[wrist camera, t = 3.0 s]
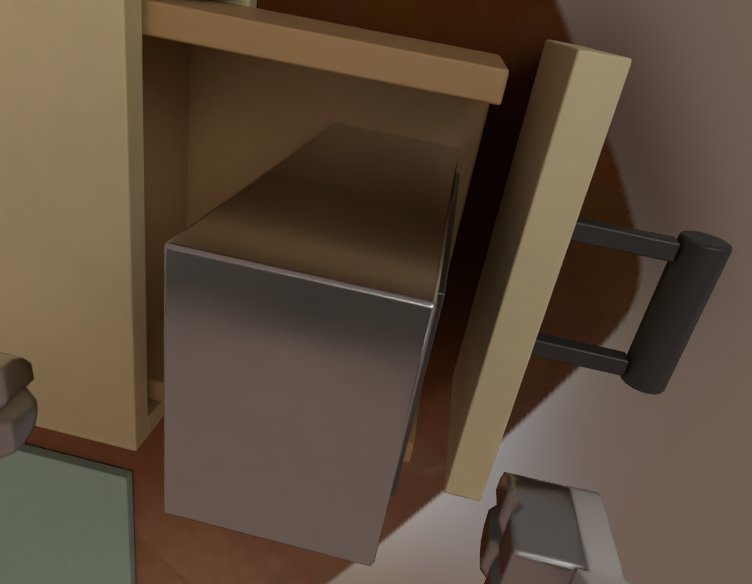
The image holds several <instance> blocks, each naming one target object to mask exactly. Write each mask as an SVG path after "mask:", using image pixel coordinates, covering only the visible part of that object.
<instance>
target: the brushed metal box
mask: <svg viewBox="0 0 752 584" xmlns="http://www.w3.org/2000/svg"><path fill="white" fill-rule="evenodd" d="M459 153H460V149H459V148H458V147H453V146H448V145H443V144H438V143H433V142H429V141H424V140H419V139H414V138H409V137H404V136H399V135H394V134H389V133H385V132H380V131H375V130H370V129H365V128H360V127H355V126H350V125H346V124H341V123H334V124H332V125H331V126H329V127H328V128H327V129H325V130H324V131H322V132H321V133H320V134H318V135H317V136H315V137H314V138H313V139H311V140H310V141H308V142H307V143H306V144H304V145H303V146H301V147H300V148H299V149H297V150H296V151H294V152H293V153H292V154H290V155H289V156H287V157H286V158H285V159H283V160H282V161H280V162H279V163H277V164H276V165H275V166H273V167H272V168H270V169H269V170H268V171H266V172H265V173H263V174H262V175H261V176H259V177H258V178H256V179H255V180H254V181H252V182H251V183H249V184H248V185H247V186H245V187H244V188H242V189H241V190H240V191H238V192H237V193H235V194H234V195H233V196H231V197H230V198H228V199H227V200H226V201H224V202H223V203H221V204H220V205H219V206H217V207H216V208H214V209H213V210H212V211H210V212H209V213H207V214H206V215H205V216H203V217H202V218H200V219H199V220H198V221H196V222H195V223H193V224H192V225H191V226H189V227H188V228H186V229H185V230H183V231H182V232H181V233H179V234H178V235H176V236H175V237H174V238H172V239H171V240H169V241H168V242H167V243H166V244H165V246H164V512H166V513H168V514H171V515H175V516H179V517H183V518H187V519H191V520H194V521H198V522H202V523H206V524H210V525H214V526H218V527H221V528H225V529H229V530H233V531H237V532H241V533H244V534H248V535H252V536H256V537H260V538H264V539H267V540H271V541H275V542H279V543H283V544H287V545H291V546H294V547H298V548H302V549H306V550H310V551H314V552H317V553H321V554H325V555H329V556H333V557H337V558H340V559H344V560H348V561H352V562H356V563H360V564H364V565H367V566H371V565H372V564H373V563H374V561H375V557H376V552H377V548H378V544H379V540H380V536H381V532H382V528H383V524H384V520H385V516H386V512H387V508H388V504H389V500H390V495H393V496H394V495H395V493H396V489H397V485H398V481H399V477H400V473H401V469H402V465H403V461H404V457H405V453H406V449H407V445H408V441H409V437H410V433H411V429H412V425H413V421H414V417H415V413H416V409H417V405H418V401H419V397H420V393H421V389H422V385H423V381H424V377H425V373H426V369H427V365H428V361H429V357H430V352H431V348H432V344H433V340H434V336H435V332H436V328H437V324H438V320H439V316H440V312H441V308H442V304H443V300H444V296H445V290H446V282H447V274H448V266H449V258H450V250H451V242H452V234H453V226H454V218H455V210H456V202H457V194H458V186H459V178H460V174H459V173H457V166H458V159H459Z"/></svg>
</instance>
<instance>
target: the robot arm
mask: <svg viewBox="0 0 752 584" xmlns="http://www.w3.org/2000/svg"><path fill="white" fill-rule="evenodd" d="M33 380H34V375H33V370H32V364H31V362H29V361H27V360H26V359H24V358H22V357H18V356H14V355H10V354H7V353H3V352H0V459H1V458H4V457H7V456H9V455H12V454H14V453H15V452H16V451H17V450H18V449H19V448H21V447H22V446H23V445H24V444H25V443H26V442H27V440H28V438H29V436H30V435H31V433H32V431H33V429H34V427H35V425H36V420H37V415H38V407H37V400H36V399H35V397H34V396H33V395H32V393H31V392H30V391H29V389H28V388H27V387H28V386H29V385H30V383H31V382H32V381H33ZM496 497H497V505H496V506H494V507H493V508H491V509H489V511H488V514H487V517H486V521H485V524H484V528H483V533H482V538H481V547H480V570H481V571H482V573H483V574H484V576H485V577H486V580H485V583H484V584H635V583H632V582H628V581H626V580H625V577H624V573H623V570H622V566H621V562H620V559H619V555H618V552H617V548H616V545H615V541H614V538H613V535H612V531H611V527H610V523H609V520H608V516H607V513H606V509H605V506H604V502H603V498H602V497H601V496H600V494H599V493H598V492H594V491H589V490H585V489H580V488H575V487H571V486H563V485H559V484H555V483H550V482H546V481H541V480H537V479H533V478H528V477H524V476H519V475H515V474H511V473H506V472H504V474H503V475H502V477H501V478H500V481H499V484H498V486H497V489H496Z"/></svg>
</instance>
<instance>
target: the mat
mask: <svg viewBox="0 0 752 584" xmlns="http://www.w3.org/2000/svg"><path fill="white" fill-rule="evenodd" d="M0 584H136V577H135V547H134V516H133V486H132V471H129V470H125V469H121V468H117V467H113V466H109V465H105V464H101V463H98V462H94V461H90V460H86V459H82V458H78V457H74V456H70V455H66V454H62V453H58V452H55V451H51V450H47V449H43V448H39V447H35V446H31V445H27V444H24V445H23V446H22V447H21V448H19V449H18V450H17V451H16V452H15V453H14V454H12V455H9V456H7V457H4V458H1V459H0Z"/></svg>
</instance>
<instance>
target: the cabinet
mask: <svg viewBox="0 0 752 584" xmlns="http://www.w3.org/2000/svg"><path fill="white" fill-rule="evenodd" d="M216 1H222V2H227V3H232V4H237V5H243V6H248V7H253V8H256V6H257V0H216ZM0 352H3V353H7V354H10V355H14V356H18V357H22V358H24V359H26V360H27V361H29V362H31V364H32V370H33V375H34V380H33V381H32V382H31V383H30V385H29V386H28V387H27V388H28V389H29V391H30V392H31V393H32V395H33V396H34V397H35V399H36V400H37V407H38V415H37V420H36V425H35V426H39V427H42V428H46V429H50V430H54V431H58V432H62V433H66V434H70V435H74V436H78V437H82V438H86V439H90V440H94V441H98V442H102V443H106V444H110V445H114V446H118V447H121V448H125V449H129V450H133V451H136V450H137V449H138V448H139V447H140V445H141V444H142V443H143V442H144V440H145V439H146V438H147V437H148V435H149V434H150V433H151V431H152V430H153V429H154V428H155V426H156V425H157V424H158V423H159V421H160V420H161V419H162V418H163V416H164V402H162V401H157V400H153V399H149V398H147V333H146V267H145V202H144V136H143V71H142V5H141V0H0Z"/></svg>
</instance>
